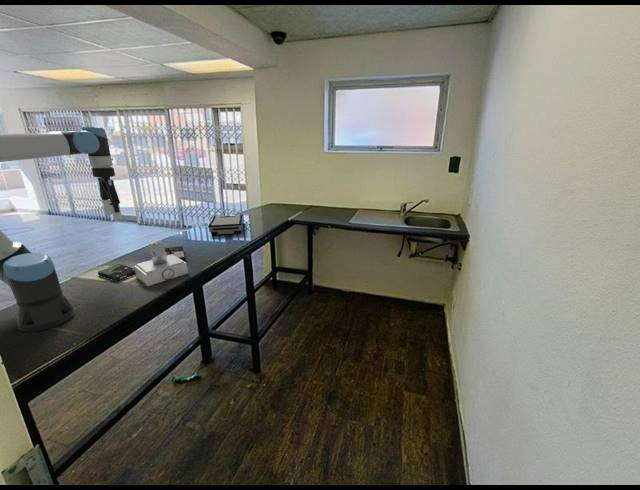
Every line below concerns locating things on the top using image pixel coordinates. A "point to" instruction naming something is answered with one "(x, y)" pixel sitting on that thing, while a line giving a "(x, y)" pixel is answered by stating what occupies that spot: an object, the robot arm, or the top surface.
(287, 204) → the top surface
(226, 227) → the game console
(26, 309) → the robot arm
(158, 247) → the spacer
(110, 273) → the disk drive
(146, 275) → the scale
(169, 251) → the multimeter
